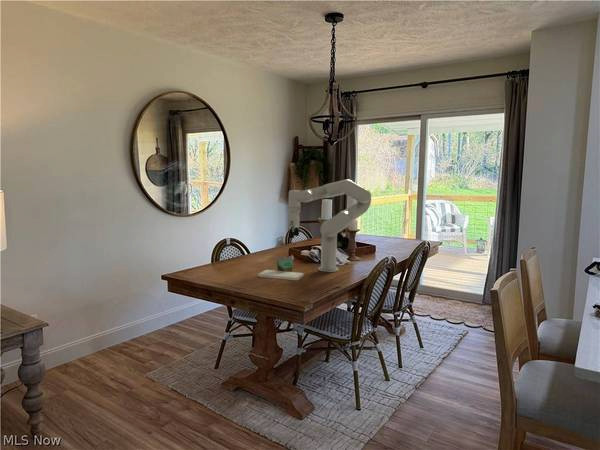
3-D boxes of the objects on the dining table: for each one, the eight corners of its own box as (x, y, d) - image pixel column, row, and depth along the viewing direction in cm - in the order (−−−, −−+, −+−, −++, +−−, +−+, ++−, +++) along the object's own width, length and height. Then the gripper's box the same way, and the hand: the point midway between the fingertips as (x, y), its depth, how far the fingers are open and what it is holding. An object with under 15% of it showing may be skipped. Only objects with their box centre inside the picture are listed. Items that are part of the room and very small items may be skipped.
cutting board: (266, 272, 249) (266, 269, 249) (303, 275, 241) (303, 273, 241) (258, 276, 238) (258, 274, 238) (297, 280, 230) (297, 277, 230)
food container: (281, 275, 242) (281, 258, 241) (275, 273, 247) (275, 256, 246) (297, 272, 250) (298, 256, 249) (291, 270, 255) (291, 254, 254)
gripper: (293, 208, 265) (292, 234, 267) (283, 210, 249) (283, 238, 251) (304, 209, 263) (303, 235, 265) (295, 211, 246) (295, 239, 248)
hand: (293, 236), depth 258 cm, fingers open, 9 cm apart
